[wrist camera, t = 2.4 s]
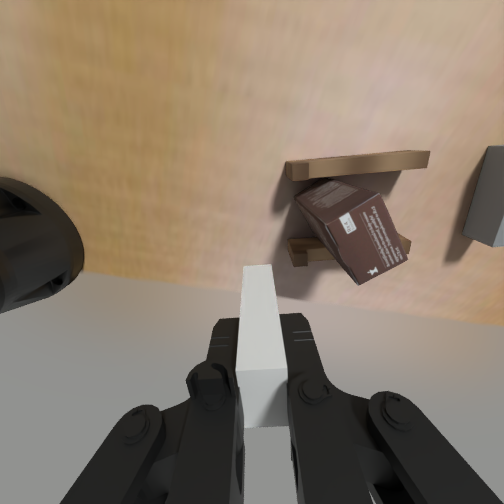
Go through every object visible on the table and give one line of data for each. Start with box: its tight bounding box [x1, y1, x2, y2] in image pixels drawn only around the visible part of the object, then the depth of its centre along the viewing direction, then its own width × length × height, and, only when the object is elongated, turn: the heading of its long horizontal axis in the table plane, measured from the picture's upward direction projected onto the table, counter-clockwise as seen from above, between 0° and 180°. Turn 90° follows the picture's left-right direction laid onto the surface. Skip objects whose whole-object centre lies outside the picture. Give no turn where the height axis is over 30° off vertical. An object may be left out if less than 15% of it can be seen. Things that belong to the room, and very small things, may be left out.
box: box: [294, 177, 408, 285], centre depth 22 cm, size 6×4×12 cm
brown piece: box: [286, 150, 430, 267], centre depth 25 cm, size 13×11×4 cm
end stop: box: [462, 145, 504, 247], centre depth 25 cm, size 2×10×4 cm, turn 5°
